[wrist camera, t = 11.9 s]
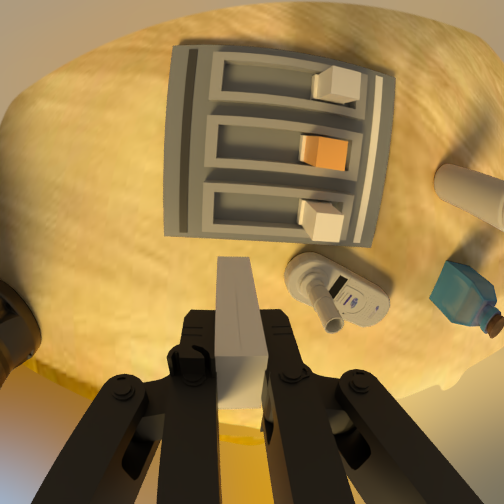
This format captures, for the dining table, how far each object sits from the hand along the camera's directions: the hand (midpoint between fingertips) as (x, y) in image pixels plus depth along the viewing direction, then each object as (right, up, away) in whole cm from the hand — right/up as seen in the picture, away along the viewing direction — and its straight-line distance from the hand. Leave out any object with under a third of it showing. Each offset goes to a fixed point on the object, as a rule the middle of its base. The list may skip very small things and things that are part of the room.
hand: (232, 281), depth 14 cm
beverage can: (+25, +10, +14) cm, 30 cm away
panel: (+4, +12, +12) cm, 17 cm away
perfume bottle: (+31, -3, +20) cm, 37 cm away
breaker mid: (+7, +11, +11) cm, 17 cm away
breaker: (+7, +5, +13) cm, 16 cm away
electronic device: (+11, -3, +19) cm, 22 cm away
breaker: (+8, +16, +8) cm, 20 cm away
